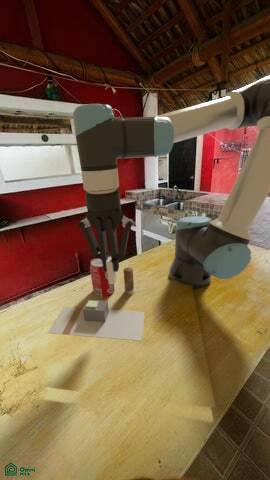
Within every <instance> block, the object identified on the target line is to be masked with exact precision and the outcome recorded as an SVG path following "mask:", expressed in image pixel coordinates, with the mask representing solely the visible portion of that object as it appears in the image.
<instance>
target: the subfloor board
mask: <svg viewBox="0 0 270 480" xmlns="http://www.w3.org/2000/svg"><path fill="white" fill-rule="evenodd" d="M83 308H84V307H78V306H75V307H74V306H73V307H72V306H63V307H62V309H61V311H60V312H59V314H58V315H57V317H56V318H55V320H54V322H53V323H52V325H51V326H50V328H49V330H48V332H47V334H54V335H55V334H58V335H67V336H69V335H70V336H82V337H92V338H93V337H94V338H103V339H105V338H106V339H115V340H117V339H118V340H126V341H127V340H129V341H138V342H139V341H140V342H142V338H143V331H144V323H145V314H146V311H137V310H134V311H133V310H123V309H121V310H120V309H109V313H108V316H107V319H106V322H96V321H85V320H84V314H83Z"/></svg>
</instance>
